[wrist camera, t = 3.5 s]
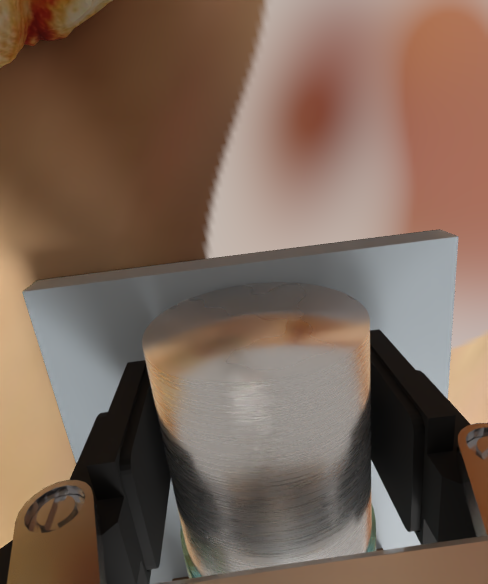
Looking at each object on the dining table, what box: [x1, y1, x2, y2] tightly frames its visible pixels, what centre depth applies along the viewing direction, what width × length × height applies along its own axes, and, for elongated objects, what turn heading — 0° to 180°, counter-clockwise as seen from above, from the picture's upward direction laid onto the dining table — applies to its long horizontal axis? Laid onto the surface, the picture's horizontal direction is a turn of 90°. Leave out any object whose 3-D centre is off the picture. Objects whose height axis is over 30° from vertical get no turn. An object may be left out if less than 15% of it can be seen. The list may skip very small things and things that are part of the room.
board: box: [22, 230, 458, 584], centre depth 16 cm, size 22×12×1 cm, turn 6°
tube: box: [142, 282, 376, 579], centre depth 11 cm, size 14×5×5 cm, turn 6°
